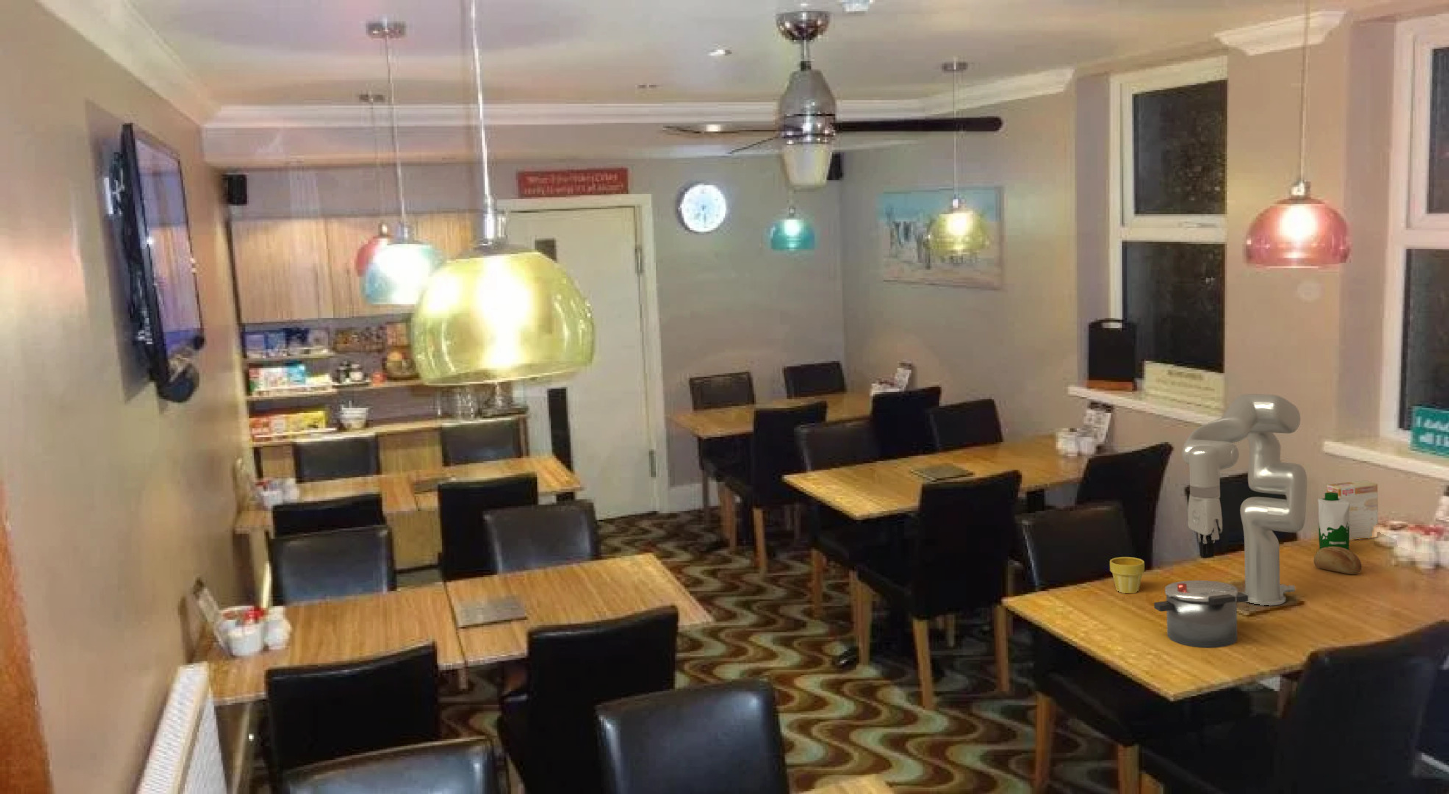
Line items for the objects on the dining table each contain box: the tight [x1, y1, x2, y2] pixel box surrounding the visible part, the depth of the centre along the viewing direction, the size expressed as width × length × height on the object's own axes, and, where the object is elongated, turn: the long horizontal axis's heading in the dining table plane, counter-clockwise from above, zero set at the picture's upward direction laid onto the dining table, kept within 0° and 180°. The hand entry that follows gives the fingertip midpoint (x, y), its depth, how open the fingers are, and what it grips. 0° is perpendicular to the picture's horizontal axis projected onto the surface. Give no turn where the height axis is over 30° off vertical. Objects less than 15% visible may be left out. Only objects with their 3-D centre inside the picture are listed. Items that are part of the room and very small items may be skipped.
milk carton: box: [1317, 492, 1350, 550], centre depth 384 cm, size 9×9×20 cm
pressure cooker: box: [1153, 592, 1248, 649], centre depth 316 cm, size 26×19×12 cm
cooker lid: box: [1164, 580, 1239, 604], centre depth 313 cm, size 19×22×3 cm
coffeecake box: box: [1326, 479, 1379, 541], centre depth 400 cm, size 15×7×20 cm, turn 97°
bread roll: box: [1313, 547, 1363, 575], centre depth 364 cm, size 10×15×8 cm, turn 30°
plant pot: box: [1109, 556, 1145, 594], centre depth 360 cm, size 10×10×10 cm
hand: (1206, 556), depth 311 cm, fingers closed
